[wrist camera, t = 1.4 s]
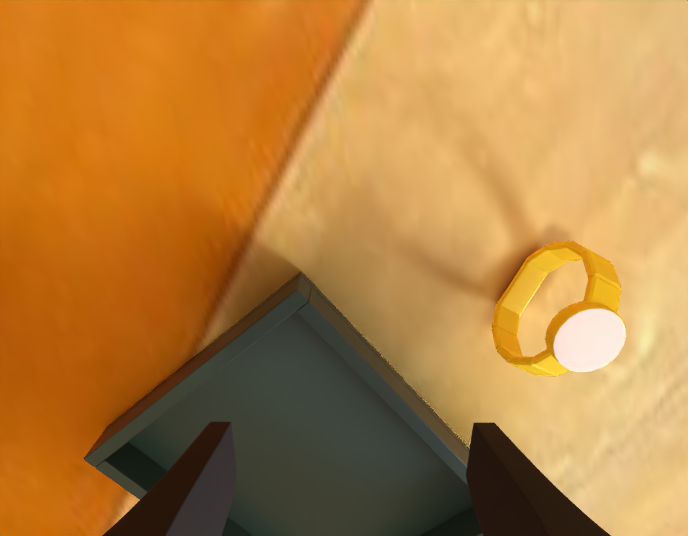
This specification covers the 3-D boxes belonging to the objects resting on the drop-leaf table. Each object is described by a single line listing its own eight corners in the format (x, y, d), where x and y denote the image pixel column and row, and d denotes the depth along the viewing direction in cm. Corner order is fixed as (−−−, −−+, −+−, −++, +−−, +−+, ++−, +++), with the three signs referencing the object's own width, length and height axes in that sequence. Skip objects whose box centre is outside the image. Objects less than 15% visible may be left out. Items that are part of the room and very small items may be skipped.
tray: (507, 489, 26) (522, 523, 24) (322, 591, 30) (321, 629, 27) (301, 270, 21) (296, 289, 18) (105, 428, 24) (82, 459, 22)
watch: (510, 339, 22) (567, 416, 16) (467, 318, 22) (510, 390, 16) (581, 245, 20) (672, 296, 15) (535, 220, 20) (611, 263, 14)
